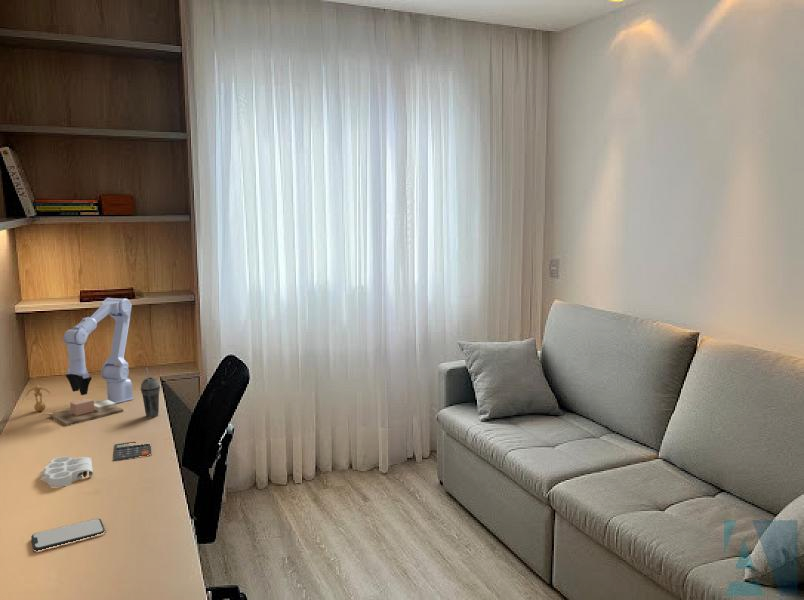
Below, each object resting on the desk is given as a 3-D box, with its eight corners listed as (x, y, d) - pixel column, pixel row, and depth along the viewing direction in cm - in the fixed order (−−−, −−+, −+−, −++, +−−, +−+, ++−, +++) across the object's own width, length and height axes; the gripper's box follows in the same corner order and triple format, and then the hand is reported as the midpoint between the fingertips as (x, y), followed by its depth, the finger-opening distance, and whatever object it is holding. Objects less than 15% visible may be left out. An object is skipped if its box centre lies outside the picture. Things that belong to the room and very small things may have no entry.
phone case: (100, 522, 169) (31, 539, 160) (100, 517, 168) (30, 533, 160) (106, 537, 161) (34, 555, 153) (105, 531, 161) (33, 549, 152)
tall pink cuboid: (89, 408, 256) (88, 397, 256) (94, 411, 253) (93, 400, 252) (71, 413, 251) (70, 402, 250) (76, 415, 248) (75, 404, 247)
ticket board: (105, 403, 267) (104, 396, 266) (123, 411, 257) (122, 404, 256) (49, 417, 250) (49, 409, 250) (66, 426, 240) (65, 418, 240)
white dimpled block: (94, 482, 193) (38, 493, 186) (91, 461, 208) (40, 470, 201) (93, 472, 192) (37, 482, 185) (90, 451, 208) (39, 460, 201)
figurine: (52, 408, 261) (49, 380, 259) (50, 412, 256) (48, 384, 254) (29, 410, 258) (26, 382, 256) (27, 415, 253) (24, 386, 251)
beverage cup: (166, 414, 253) (162, 365, 250) (152, 419, 246) (148, 370, 243) (152, 411, 256) (149, 363, 253) (138, 417, 250) (134, 368, 246)
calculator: (113, 459, 207) (114, 443, 221) (113, 462, 207) (115, 446, 221) (151, 454, 212) (150, 438, 225) (151, 456, 212) (150, 441, 225)
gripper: (58, 358, 250) (61, 391, 252) (74, 364, 241) (77, 398, 243) (77, 355, 255) (80, 387, 258) (93, 360, 246) (95, 394, 248)
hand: (79, 392), depth 251 cm, fingers open, 7 cm apart
